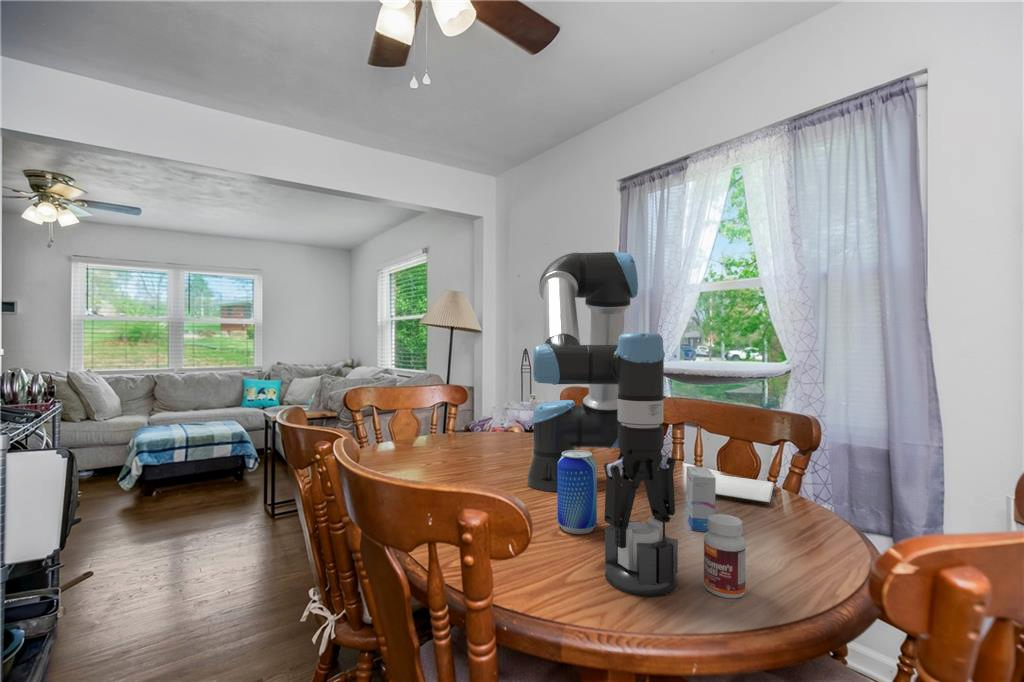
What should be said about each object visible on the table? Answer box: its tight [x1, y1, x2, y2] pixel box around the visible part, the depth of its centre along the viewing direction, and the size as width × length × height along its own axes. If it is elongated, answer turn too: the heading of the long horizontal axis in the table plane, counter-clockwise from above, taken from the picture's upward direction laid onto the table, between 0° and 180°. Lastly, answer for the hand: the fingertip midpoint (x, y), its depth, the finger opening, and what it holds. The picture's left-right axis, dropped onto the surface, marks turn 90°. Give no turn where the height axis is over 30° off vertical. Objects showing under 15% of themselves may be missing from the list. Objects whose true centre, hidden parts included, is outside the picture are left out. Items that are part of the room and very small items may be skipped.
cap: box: [628, 521, 659, 572], centre depth 80 cm, size 6×6×6 cm
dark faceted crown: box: [604, 520, 679, 598], centre depth 80 cm, size 12×12×8 cm
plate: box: [712, 473, 775, 505], centre depth 127 cm, size 19×19×2 cm
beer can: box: [556, 449, 598, 535], centre depth 102 cm, size 8×8×16 cm
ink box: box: [684, 465, 716, 532], centre depth 104 cm, size 9×5×12 cm, turn 168°
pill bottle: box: [703, 513, 746, 599], centre depth 76 cm, size 6×6×11 cm
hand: (640, 561), depth 80 cm, fingers closed on cap, 6 cm apart
